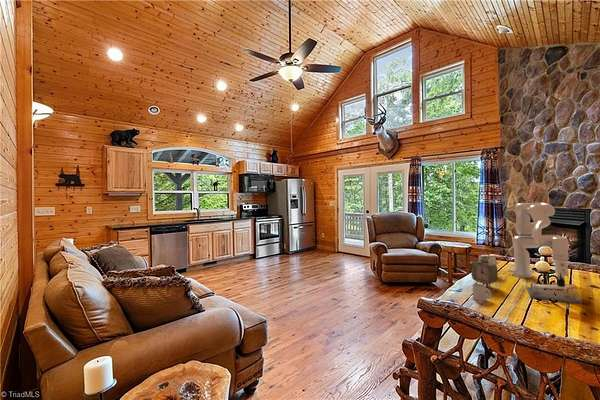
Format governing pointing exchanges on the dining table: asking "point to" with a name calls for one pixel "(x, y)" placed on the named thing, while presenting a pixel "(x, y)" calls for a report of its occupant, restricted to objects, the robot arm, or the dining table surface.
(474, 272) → the tabletop clock
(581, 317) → the dining table surface
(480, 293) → the grey rounded lump
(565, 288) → the hold down bar
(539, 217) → the robot arm
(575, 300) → the clamp plate
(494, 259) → the candy bar box
